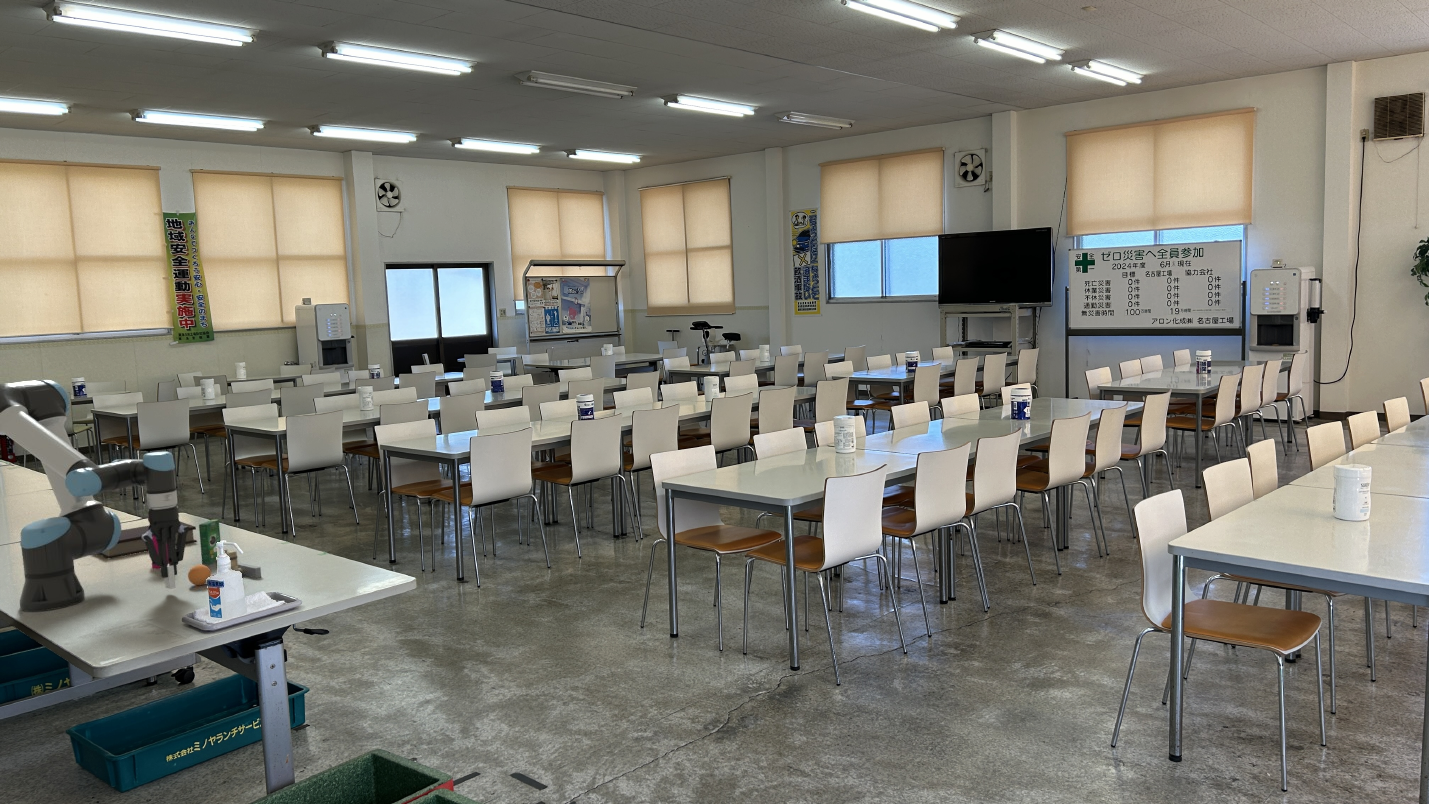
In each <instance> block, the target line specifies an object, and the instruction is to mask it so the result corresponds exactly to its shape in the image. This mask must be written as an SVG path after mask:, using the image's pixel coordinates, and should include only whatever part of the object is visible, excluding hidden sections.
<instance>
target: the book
mask: <svg viewBox="0 0 1429 804" xmlns="http://www.w3.org/2000/svg"><path fill="white" fill-rule="evenodd" d="M180 522H181V525H183V526H187V527H189V528H190V529H189V531H188V533H187V536H186V543H185V545H188V544H194V543H197V542H198V540H197V539H194V530H197V529H196V527H197V526H194V525H191V524H189V523H186V522H184V521H180ZM148 528H149V525H144V526H138V527H132V528H128V529H127V528H126V529H121V535H120V537H119V541H118V542H117V544H116V545H115V546H114V547H112V548H111V549H108V550H105V551H103V552H101V553H98V554H99V555H98V554H97V555H98V556H100V555H101V557H103V558H105V559H107V560H109V559H108V558H110V559H114V557H115V558H120V557H123V556H124V557H125V555H126V556H131V555H135V553H136V554H140V553H139V552H141V553H145V552H144V551H147V552H148V550H147V547H146V544H145V542H144V541H143V540H142V539H141V538H140V536H141V535H142V534H145V533H146V532H147V531H149V530H148ZM178 533H179V531H177V533H176V535H175V536H176V541H175V545H177V538H178ZM152 540H153V535H152ZM130 554H131V555H130Z"/></svg>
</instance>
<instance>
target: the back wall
mask: <svg viewBox="0 0 1429 804" xmlns="http://www.w3.org/2000/svg"><path fill="white" fill-rule="evenodd" d="M237 562H238V568H241V569H242V571H243V575H242V576H246V577H250V578H255V579H259V578H261V577H262V570H261V568H262V567H261V566H257V565H252V564H248V563H244V562H239V561H237Z"/></svg>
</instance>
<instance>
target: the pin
mask: <svg viewBox="0 0 1429 804" xmlns="http://www.w3.org/2000/svg"><path fill="white" fill-rule="evenodd" d="M228 556H229V557H230V560H231V569H232V570H235V571H238V562H239V561H238V551H236V550H231V551H228Z"/></svg>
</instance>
